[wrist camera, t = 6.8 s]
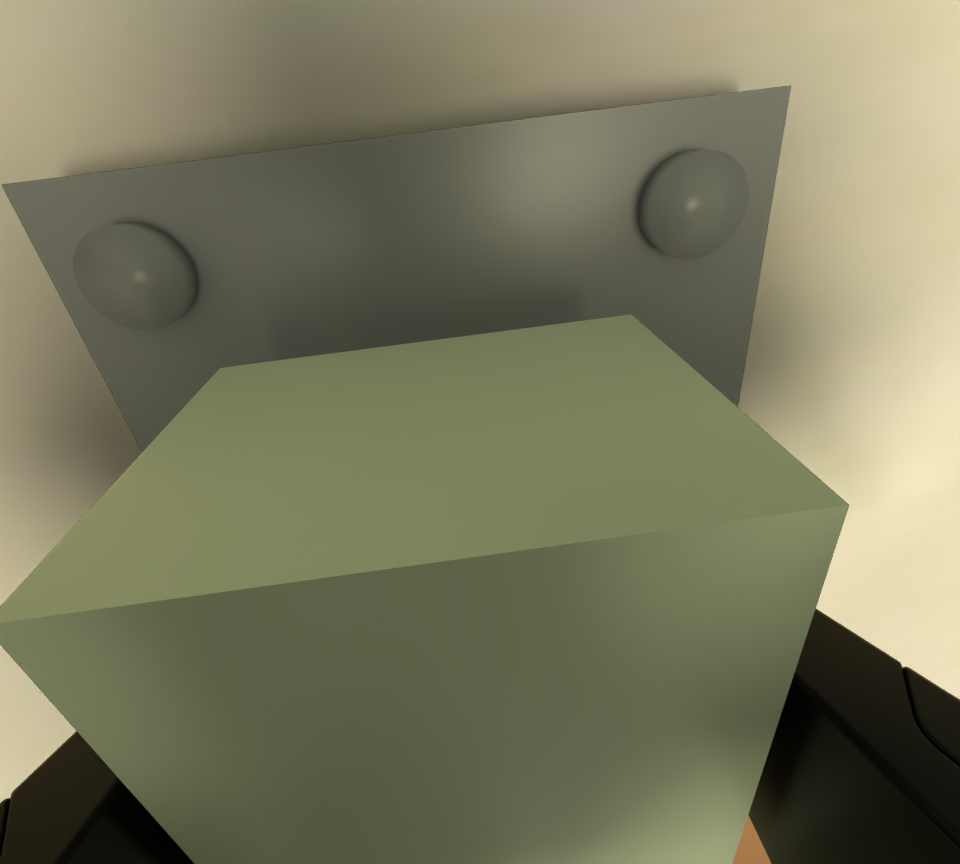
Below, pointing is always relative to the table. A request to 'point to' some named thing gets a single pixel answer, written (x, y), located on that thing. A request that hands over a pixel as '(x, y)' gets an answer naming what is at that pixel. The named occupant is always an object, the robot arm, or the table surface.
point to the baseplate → (417, 243)
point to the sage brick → (441, 606)
